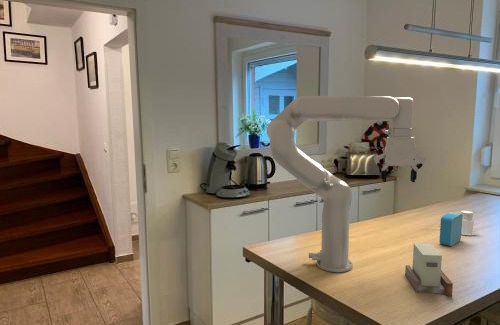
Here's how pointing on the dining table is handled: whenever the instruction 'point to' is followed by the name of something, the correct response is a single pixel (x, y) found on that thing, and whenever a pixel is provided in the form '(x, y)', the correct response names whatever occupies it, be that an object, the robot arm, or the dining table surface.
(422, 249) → the slotted sage box
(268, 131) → the robot arm
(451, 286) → the board
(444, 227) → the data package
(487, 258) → the dining table surface
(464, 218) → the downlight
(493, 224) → the dining table surface
